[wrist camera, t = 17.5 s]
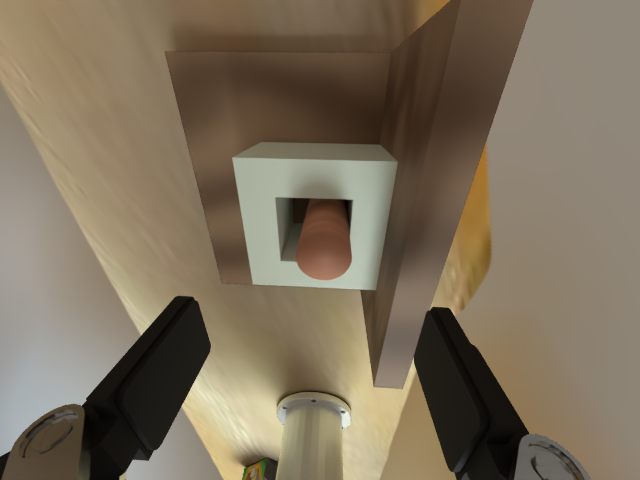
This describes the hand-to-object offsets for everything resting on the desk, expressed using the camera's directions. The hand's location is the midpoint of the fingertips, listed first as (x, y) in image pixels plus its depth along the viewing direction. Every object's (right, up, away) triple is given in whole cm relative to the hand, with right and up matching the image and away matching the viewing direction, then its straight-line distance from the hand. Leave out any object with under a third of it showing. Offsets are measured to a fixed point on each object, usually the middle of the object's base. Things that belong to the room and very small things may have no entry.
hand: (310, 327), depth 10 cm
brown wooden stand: (-1, +8, +12) cm, 14 cm away
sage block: (0, +7, +10) cm, 13 cm away
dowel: (+1, +7, +11) cm, 13 cm away
